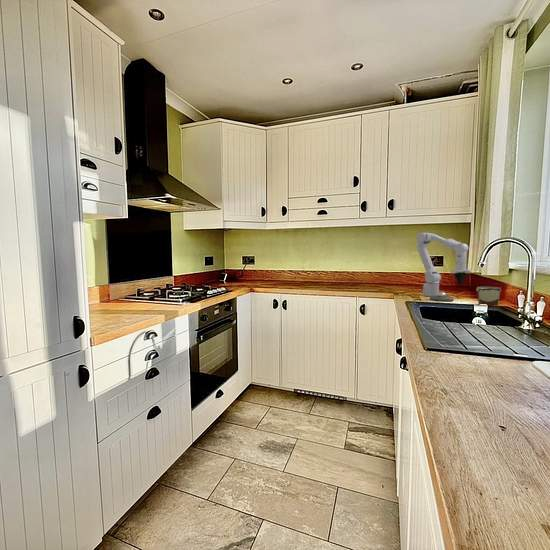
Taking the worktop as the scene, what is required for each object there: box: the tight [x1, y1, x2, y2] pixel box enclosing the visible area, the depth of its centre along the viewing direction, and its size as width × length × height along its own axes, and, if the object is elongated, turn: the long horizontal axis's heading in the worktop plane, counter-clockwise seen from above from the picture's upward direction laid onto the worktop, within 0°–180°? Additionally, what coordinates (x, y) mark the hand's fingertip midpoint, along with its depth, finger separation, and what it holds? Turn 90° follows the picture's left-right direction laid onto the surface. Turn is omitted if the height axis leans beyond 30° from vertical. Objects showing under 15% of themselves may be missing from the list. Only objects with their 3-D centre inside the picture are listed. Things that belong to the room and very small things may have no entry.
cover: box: [437, 290, 447, 297], centre depth 188 cm, size 5×5×3 cm
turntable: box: [429, 295, 455, 302], centre depth 188 cm, size 13×13×2 cm
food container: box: [475, 286, 502, 306], centre depth 169 cm, size 12×6×10 cm, turn 84°
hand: (460, 284), depth 189 cm, fingers closed
